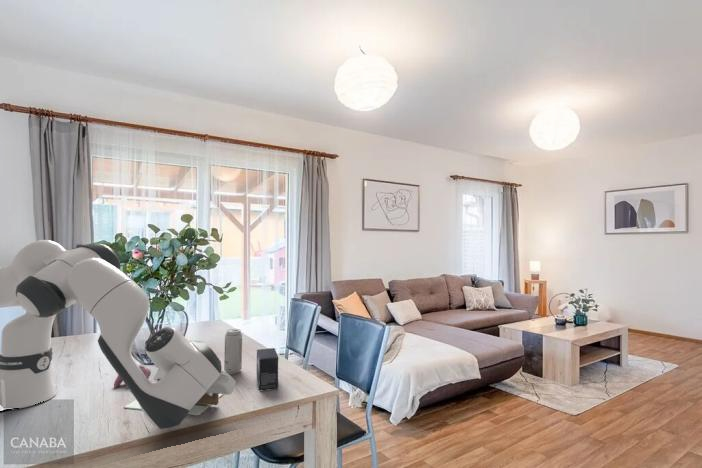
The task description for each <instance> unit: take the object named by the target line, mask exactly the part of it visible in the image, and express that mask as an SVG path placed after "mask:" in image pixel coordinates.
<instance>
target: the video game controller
mask: <svg viewBox="0 0 702 468" xmlns="http://www.w3.org/2000/svg"><path fill="white" fill-rule="evenodd" d="M138 366H139V368H140V369H141V370H142V372H143V373H144V375H145V376H146V377H147V379H148V380H149V379H150V376H151V374H152V372H151V369H150V368H147V367H146V366H142V365H138ZM122 383H123V380H122V379H121V378H120V376H119V375H118V374H117V377H116V378H115V380H114V383H113V387H114V388H115V389H116V388H118V387H119V386H120V385H122Z"/></svg>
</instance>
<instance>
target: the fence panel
mask: <svg viewBox="0 0 702 468" xmlns="http://www.w3.org/2000/svg"><path fill="white" fill-rule="evenodd" d="M218 398H219V394H217V393H213V394H212V396H205V395H203V396H202V397H201V398H200V399H199V400H198V402H197V403H198V404H209V405H211V406H217V405H218V404H219V399H220V398H219V399H218Z"/></svg>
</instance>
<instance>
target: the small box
mask: <svg viewBox="0 0 702 468" xmlns="http://www.w3.org/2000/svg"><path fill="white" fill-rule="evenodd" d="M256 381H257V386H258V390H263V391H268V390H267V389H271V390H275V389H274V388H278V389H279V355H278V353H277V350H276V349H275V347H271V348H261V349H256Z"/></svg>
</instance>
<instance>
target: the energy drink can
mask: <svg viewBox="0 0 702 468" xmlns="http://www.w3.org/2000/svg"><path fill="white" fill-rule="evenodd" d="M223 359H224V360H223V361H224V363H223V364H224V365H223V371H225V372H226V373H228V374H229V375H236V374H239V373H240V372H241V370H242V365H243V363H242V362H243V360H242V359H243V333H242V332H241V329H239V328H231V329H227V330H226V332H225V334H224V358H223Z"/></svg>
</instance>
